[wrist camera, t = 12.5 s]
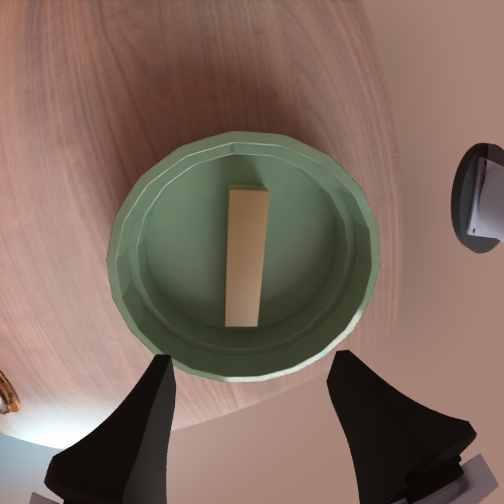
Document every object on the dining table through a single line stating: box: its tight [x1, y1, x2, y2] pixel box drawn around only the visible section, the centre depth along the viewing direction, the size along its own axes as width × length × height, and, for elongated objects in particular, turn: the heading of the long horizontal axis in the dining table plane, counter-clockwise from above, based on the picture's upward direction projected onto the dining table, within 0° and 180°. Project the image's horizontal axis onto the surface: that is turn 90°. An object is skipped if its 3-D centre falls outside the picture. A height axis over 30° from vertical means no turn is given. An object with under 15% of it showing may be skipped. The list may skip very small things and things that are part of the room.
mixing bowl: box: [106, 131, 380, 382], centre depth 17 cm, size 15×15×5 cm
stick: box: [224, 183, 269, 327], centre depth 18 cm, size 2×9×2 cm, turn 176°
